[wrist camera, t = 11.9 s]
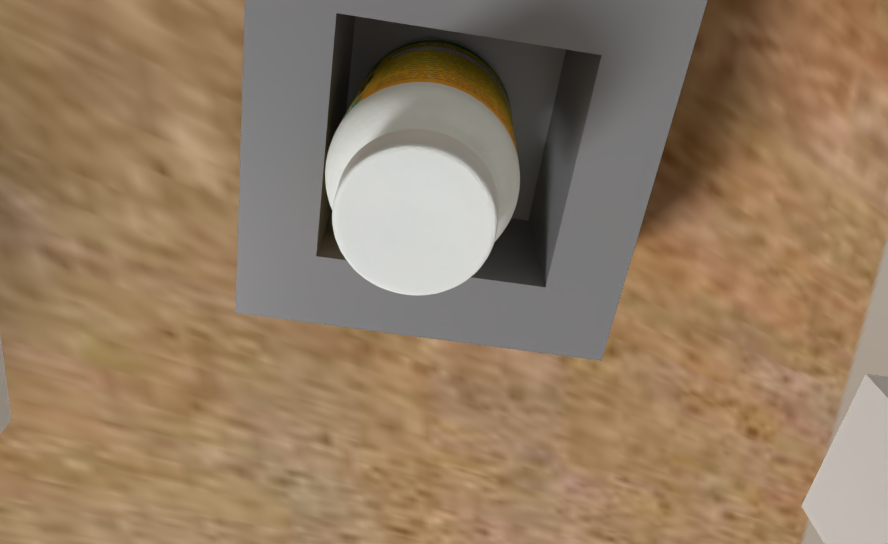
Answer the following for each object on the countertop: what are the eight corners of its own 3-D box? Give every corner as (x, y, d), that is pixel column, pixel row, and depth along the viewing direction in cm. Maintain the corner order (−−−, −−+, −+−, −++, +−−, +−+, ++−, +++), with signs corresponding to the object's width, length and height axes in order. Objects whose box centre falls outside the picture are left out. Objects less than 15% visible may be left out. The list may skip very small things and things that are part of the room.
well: (573, 277, 30) (601, 360, 25) (274, 236, 29) (235, 312, 24) (655, -42, 25) (715, -25, 19) (292, -103, 24) (247, -103, 18)
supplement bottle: (501, 189, 27) (512, 331, 19) (357, 177, 27) (304, 313, 19) (519, 40, 25) (541, 127, 16) (360, 27, 25) (300, 106, 16)
